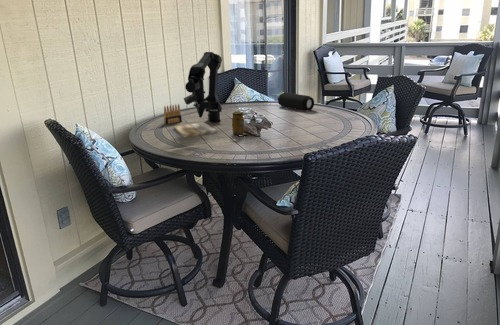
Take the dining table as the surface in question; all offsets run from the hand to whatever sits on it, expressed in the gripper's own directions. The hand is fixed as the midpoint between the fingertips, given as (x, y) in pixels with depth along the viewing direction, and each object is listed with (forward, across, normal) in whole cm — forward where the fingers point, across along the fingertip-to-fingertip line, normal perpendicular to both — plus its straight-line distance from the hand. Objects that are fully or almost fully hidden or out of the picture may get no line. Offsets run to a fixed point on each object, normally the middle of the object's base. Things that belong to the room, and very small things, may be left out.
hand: (200, 117), depth 227 cm
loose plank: (+6, +4, -1) cm, 8 cm away
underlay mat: (+7, +4, -6) cm, 10 cm away
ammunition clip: (+7, -20, -10) cm, 24 cm away
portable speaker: (+7, -19, +74) cm, 77 cm away
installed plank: (+6, +4, -10) cm, 12 cm away
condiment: (+7, +21, +14) cm, 26 cm away
